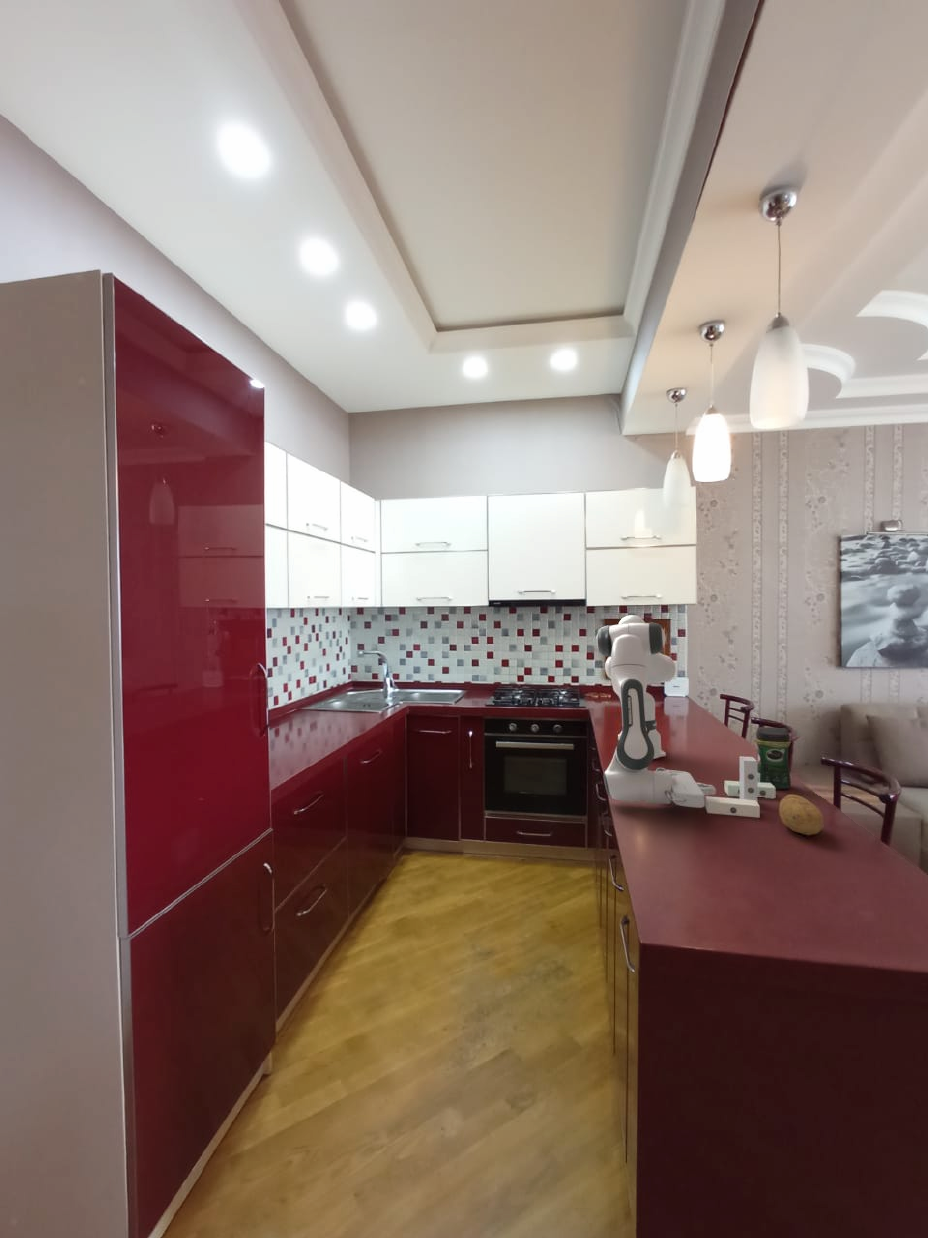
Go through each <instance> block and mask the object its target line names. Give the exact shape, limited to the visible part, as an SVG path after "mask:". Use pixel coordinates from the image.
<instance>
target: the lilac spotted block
mask: <svg viewBox="0 0 928 1238" xmlns="http://www.w3.org/2000/svg"><path fill="white" fill-rule="evenodd" d="M757 761H758V759H757V760H756V758H755V757H753V756H739V781H740V796H739V799H747V800H756V801H757V802H758V798H757Z"/></svg>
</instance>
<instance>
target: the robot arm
mask: <svg viewBox="0 0 928 1238" xmlns="http://www.w3.org/2000/svg"><path fill="white" fill-rule="evenodd" d="M595 637H596V638H595V643H596V647H597V649H598V653H600V654H601V655H603V657H604V656H605V657H607V659H606V661H605V663H604V670H605V673H606V676H607V677H608V678H609V679H610V680H611V686H612V690H613V692H614V693H615V694H616V695H617V696H618V698H619V701H620V705H621V706H620V707H621V720H622V721H621V722H622V723H621V724H622V725H621V726H622V730H621V732H620V733H619V734H618V735H617V740H618V741H617V744H616V747H615V750H614V753H613V756H612V759H611V761H610V763H609V765H608V767H607V768H606V769H605V771H604V772H603V781H604V787H605V790H606V791H605V792H606V793H607V795H608V797H610V798H611V799H613V800H615V801H621V802H630V803H631V802H632V803H640V802H647V803H651V804H664V805H665V804H667V805H668V804H669V805H670V804H671V803H672V802H673V803H674V805H677V806H681V807H688V808H697V809H701V808H704V807H705V806H706V797H705V796H711V795H713V796H715V795H716V794H717V789H716V788H715V786H714V785H713V784H707V783H706V784H705V783H702V782H696V780H695V779H694V777H693V776H692V774H691V773H690V772H687V771H683V770H673V769H666V768H664V767H657V768H656V770H648V767H649V766H650V765H651V764H652V762H653V761H654V759H655V760H656V759H658V758H661V757H666V756H667V754H666V752H665V750H663V749H662V743H661V742H662V741H661V740H662V739H661V738H662V737H661V733H659V731H657V719H656V701H655V698H654V697H653V695H652V694H650V693H649V692H647V687H648V684H662V683H668V682H671V681H672V679H674V677H675V675H676V670H677V669H676V663H675V662H674V660H673V659H672V658H671V657H670V656H668V655H666V654H663V653H661V652H663V650H664V648H665V645H666V642H667V641H666V640H667V636H666V633H665V631H664V628H663V626H662V625H661V624H659V623H656V622H651V621H649V622H645V621H644V620H643V618H642V617H640V616H639V615H635V614H629V615H626V616H624V617H622V618H621V619H620V620H619V622H618V624H613V625H610V624H609V625H604V626H602V627H600V628H599V629H598V630H597V633H596V636H595ZM671 801H672V802H671Z"/></svg>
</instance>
